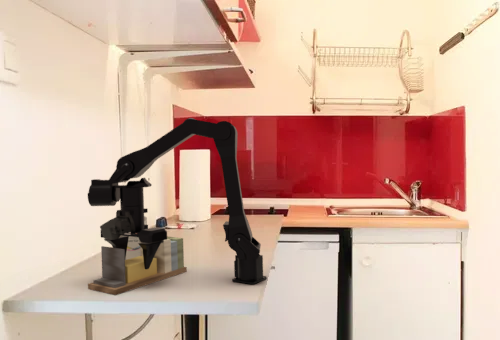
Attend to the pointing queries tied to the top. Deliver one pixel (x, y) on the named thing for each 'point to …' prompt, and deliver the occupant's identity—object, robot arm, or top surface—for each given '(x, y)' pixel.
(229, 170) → the robot arm
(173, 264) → the brown book holder
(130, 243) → the ink cartridge box
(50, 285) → the top surface
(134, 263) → the ochre book
